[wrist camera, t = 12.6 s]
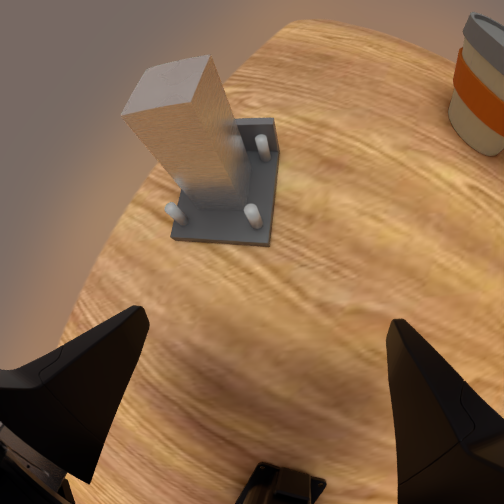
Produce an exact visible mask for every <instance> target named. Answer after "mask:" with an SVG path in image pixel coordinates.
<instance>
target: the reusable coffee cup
mask: <svg viewBox="0 0 504 504" xmlns="http://www.w3.org/2000/svg"><path fill="white" fill-rule="evenodd" d="M463 34H464V36H465V38H464V44H463V47H462V48H460V49H459V53H458V58H457V63H456V68H455V73H454V78H453V84H454V91H453V95H452V99H451V102H450V106H449V109H448V115H449V119H450V122H451V124H452V126H453V127H454V129H455V130H456V132H457V133H458V134H459V136H460V137H461V138H462V139H463V140H464V141H465V142H466V143H467V144H468V145H470V146H471V147H472V148H473V149H475V150H476V151H478V152H480V153H482V154H484V155H488V156H495V155H497V154H498V153H499V152H501V151H502V150H503V149H504V26H503V25H501V24H500V23H498V22H496V21H494V20H493V19H491V18H489V17H487V16H484V15H482V14H479V13H475V12H472V13H470V16H469V18H468V20H467V23H466V25H465V27H464V29H463Z"/></svg>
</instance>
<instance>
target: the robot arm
mask: <svg viewBox="0 0 504 504" xmlns="http://www.w3.org/2000/svg"><path fill="white" fill-rule="evenodd" d="M149 326H150V323H149V320H148V317H147V315H146V312H145V310H144V308H143V307H142V306H136V305H133V306H131V307H129V308H127V309H126V310H124V311H122V312H120V313H119V314H117V315H115V316H113V317H111V318H110V319H108V320H106V321H104V322H103V323H101V324H99V325H97V326H96V327H94V328H92V329H90V330H89V331H87V332H85V333H83V334H82V335H80V336H78V337H76V338H75V339H73V340H71V341H69V342H68V343H66V344H64V345H62V346H60V347H59V348H57V349H55V350H53V351H52V352H50V353H48V354H46V355H44V356H42V357H40V358H38V359H36V360H34V361H32V362H30V363H28V364H26V365H24V366H21V367H20V368H17V369H14V370H1V369H0V504H75V501H74V498H73V495H72V492H71V489H70V485H69V482H68V480H67V479H65V476H66V474H67V472H68V473H69V474H71V475H73V476H75V477H76V478H78V479H80V480H82V481H83V482H85V483H87V484H90V483H91V480H92V477H93V474H94V471H95V468H96V465H97V462H98V460H99V457H100V454H101V451H102V449H103V446H104V443H105V440H106V437H107V435H108V432H109V430H110V427H111V424H112V422H113V419H114V417H115V414H116V412H117V409H118V407H119V404H120V402H121V400H122V397H123V395H124V392H125V390H126V388H127V385H128V383H129V381H130V378H131V376H132V374H133V371H134V369H135V367H136V365H137V362H138V360H139V357H140V354H141V351H142V348H143V345H144V342H145V339H146V336H147V333H148V330H149ZM386 348H387V363H388V381H389V388H390V395H391V402H392V410H393V419H394V428H395V439H396V452H397V473H398V504H504V419H503V418H502V417H501V416H500V415H499V414H498V413H497V412H496V411H495V410H494V409H493V408H491V407H490V406H489V405H488V404H487V403H486V402H485V401H484V400H483V399H482V398H481V397H480V396H479V395H478V394H477V393H476V392H475V391H474V390H473V389H472V388H471V387H470V386H469V384H468V383H467V382H466V381H464V379H463V378H462V377H461V376H460V375H459V374H458V373H457V372H456V371H455V370H454V369H453V367H452V366H451V365H450V364H449V363H448V362H447V361H446V360H445V359H444V358H443V357H442V356H441V355H440V354H439V353H438V352H437V351H436V350H435V349H434V348H433V347H432V346H431V345H430V344H429V343H428V342H427V341H426V340H425V339H424V338H423V337H422V336H421V335H420V334H419V333H418V332H417V331H416V330H415V329H414V328H413V327H412V326H411V325H410V324H409V323H408V322H407V321H406V320H404V319H393V320H392V321H391V324H390V327H389V331H388V334H387V337H386ZM261 466H263V467H265V468H264V469H262V468H260V467H261ZM320 483H323V485H318V484H320ZM326 485H327V483H326V481H325V480H324V479H320V478H316V477H311V476H310V475H308V474H305V473H301V472H297V471H294V470H290V469H287V468H280V467H277V466H273V465H270V464H268V463H264V462H261V463H259V464H258V465H257V467H256V468H255V470H254V472H253V474H252V476H251V477H250V479H249V481H248V483H247V484H246V486H245V488H244V489H243V491H242V493H241V494H240V496H239V498H238V499H237V501H236V503H235V504H314V503H315V501H316V500H317V499H318V497H319V496H320V494H321V493H322V492H323V490H324V489H325V487H326Z"/></svg>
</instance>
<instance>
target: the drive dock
mask: <svg viewBox="0 0 504 504" xmlns="http://www.w3.org/2000/svg"><path fill="white" fill-rule="evenodd" d="M235 121H236V124H237V127H238V129H239V132H240V135H241V138H242V141H243V144H244V147H245V149H246V152H247V155H248V158H249V161H250V164H251V167H252V171H251V178H250V185H249V191H248V198H247V205H246V206H245V208H244V210H210V209H198V208H197V206H196V205H195V204H194V203H193V202H192V201H191V199H190V198H189V197H188V196H187V195H186V194H185V192H184V191H183V190H182V189H181V193H180V197H179V201H178V205H177V206H176V205H175V204H174V203H173V202H170V203H168V204H167V205H166V206H165V212H166V213H167V214H169V215H170V216H171V217H172V218H173V219H174V223H173V227H172V232H171V236H170V237H171V238H172V239H174V240H177V241H192V242H207V243H222V244H237V245H251V246H265V247H270V238H271V229H272V220H273V211H274V202H275V192H276V183H277V173H278V163H279V153H280V150H279V144H278V139H277V133H276V127H275V122H274V118H242V119H235Z"/></svg>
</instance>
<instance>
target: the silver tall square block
mask: <svg viewBox="0 0 504 504" xmlns="http://www.w3.org/2000/svg"><path fill="white" fill-rule="evenodd" d="M120 116H121V117H122V119H123V120H124V121H125V122H126V124H127V125H128V126H129V127H130V128H131V129H132V131H133V132H134V133H135V134H136V136H137V137H138V138H139V139H140V140H141V142H142V143H143V144H144V145H145V146H146V147H147V149H148V150H149V151H150V152H151V153H152V155H153V156H154V157H155V158H156V159H157V161H158V162H159V163H160V164H161V165H162V166H163V168H164V169H165V170H166V171H167V172H168V174H169V175H170V176H171V177H172V178H173V179H174V181H175V182H176V183H177V184H178V185H179V187H180V188H181V189H182V190H183V191H184V192H185V194H186V195H187V196H188V197H189V198H190V199H191V201H192V202H193V203H194V204H195V205H196V206H197V208H198V209H210V210H244V208H245V206H246V205H247V198H248V191H249V185H250V178H251V171H252V167H251V164H250V161H249V158H248V155H247V152H246V149H245V147H244V144H243V141H242V138H241V135H240V132H239V129H238V127H237V124H236V121H235V118H234V115H233V113H232V110H231V107H230V104H229V102H228V99H227V96H226V94H225V91H224V88H223V85H222V83H221V80H220V77H219V75H218V72H217V69H216V67H215V64H214V61H213V59H212V56H211V55H205V56H199V57H194V58H188V59H183V60H179V61H174V62H170V63H166V64H162V65H158V66H154V67H150V68H147V70H146V71H145V73H144V74H143V76H142V78H141V79H140V81H139V83H138V84H137V86H136V88H135V89H134V91H133V93H132V95H131V97H130V98H129V100H128V102H127V104H126V106H125V108H124V110H123V111H122V113H121V115H120Z"/></svg>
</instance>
